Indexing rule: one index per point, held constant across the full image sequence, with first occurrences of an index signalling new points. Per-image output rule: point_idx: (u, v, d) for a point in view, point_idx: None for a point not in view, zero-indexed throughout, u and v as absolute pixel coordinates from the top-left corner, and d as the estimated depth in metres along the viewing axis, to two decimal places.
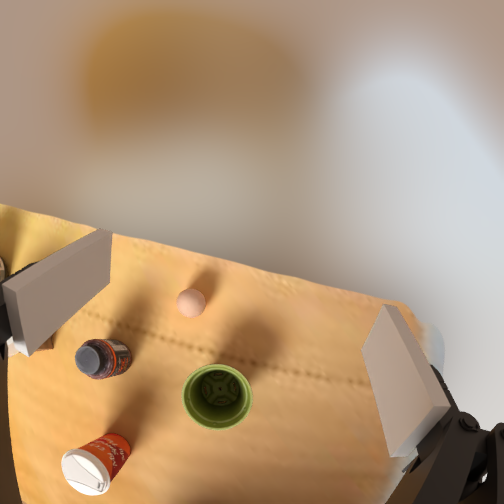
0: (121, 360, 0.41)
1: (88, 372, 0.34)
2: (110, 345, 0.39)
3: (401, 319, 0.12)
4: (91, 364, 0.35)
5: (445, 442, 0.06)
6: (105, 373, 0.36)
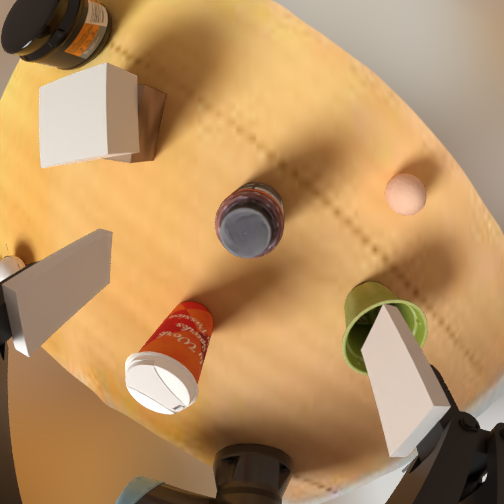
0: None
1: (238, 253, 0.24)
2: (281, 209, 0.27)
3: (401, 319, 0.12)
4: (251, 243, 0.23)
5: (445, 442, 0.06)
6: (258, 255, 0.26)
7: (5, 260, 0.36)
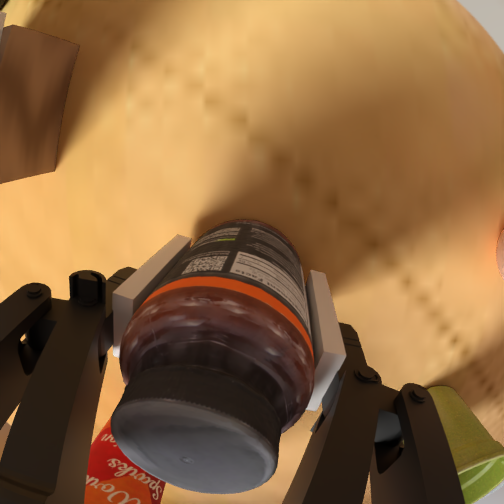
0: None
1: (177, 484, 0.06)
2: (307, 332, 0.09)
3: (323, 282, 0.14)
4: (210, 478, 0.06)
5: (341, 398, 0.07)
6: None
7: None
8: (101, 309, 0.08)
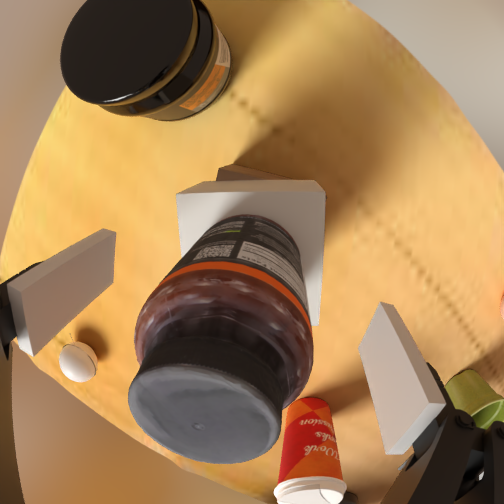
0: None
1: (187, 455, 0.07)
2: (307, 314, 0.10)
3: (397, 317, 0.12)
4: (219, 445, 0.07)
5: (441, 440, 0.06)
6: None
7: (70, 352, 0.33)
8: None
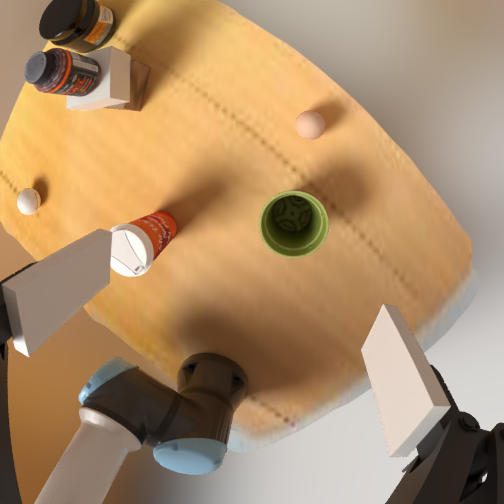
0: (77, 79, 0.29)
1: (29, 80, 0.23)
2: (72, 58, 0.26)
3: (401, 319, 0.12)
4: (35, 72, 0.23)
5: (445, 442, 0.06)
6: (48, 86, 0.26)
7: (25, 190, 0.49)
8: None
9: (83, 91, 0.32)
